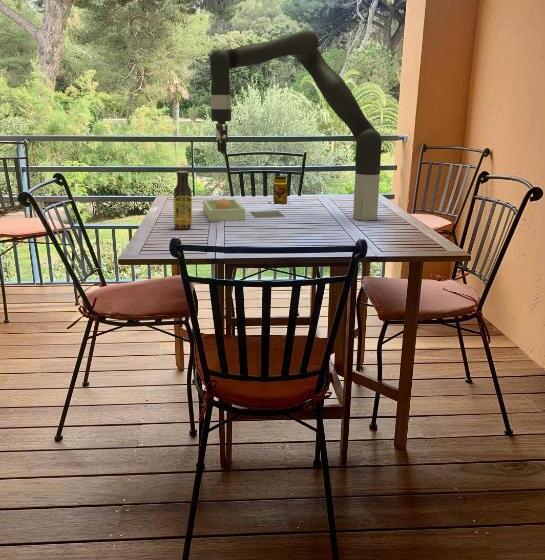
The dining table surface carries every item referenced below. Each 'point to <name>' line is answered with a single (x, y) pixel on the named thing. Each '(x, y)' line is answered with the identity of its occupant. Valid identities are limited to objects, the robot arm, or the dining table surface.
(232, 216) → the tray
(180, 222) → the sauce bottle
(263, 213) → the mat
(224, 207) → the ball
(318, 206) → the dining table surface
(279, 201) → the condiment
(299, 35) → the robot arm
